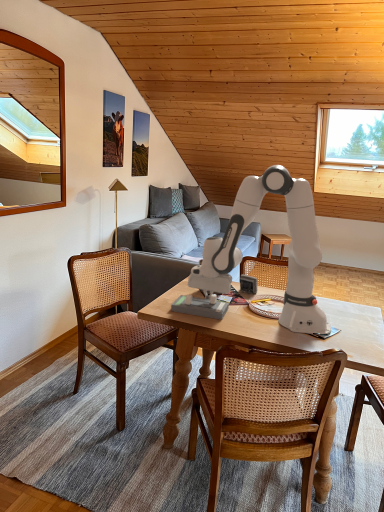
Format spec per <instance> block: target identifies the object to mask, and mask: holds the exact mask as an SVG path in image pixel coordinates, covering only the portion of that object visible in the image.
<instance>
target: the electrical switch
mask: <svg viewBox="0 0 384 512" xmlns="http://www.w3.org/2000/svg"><path fill="white" fill-rule="evenodd" d="M239 291H241V292H243V293H248V294H251V295H254V294H255V293H257V292H258V278H257V277H255V276H251V275H247V274H244V273H243V274H241V275H240V278H239Z"/></svg>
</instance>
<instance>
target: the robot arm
mask: <svg viewBox="0 0 384 512" xmlns="http://www.w3.org/2000/svg"><path fill="white" fill-rule="evenodd" d="M268 193H270V194H273V195H280V196H284V199H285V206H286V215H287V216H286V217H287V225H288V229H289V235H290V239H291V240H290V241H289V246H288V248H289V250H288V264H287V265H288V266H287V267H288V268H287V270H288V272H287V274H288V275H287V282H286V289H285V291H284V294H283V306H282V310H281V313H280V315H279V319H277V320H278V323H279V324H280V325H281V326H283V327H284V328H287V329H288V330H289V331H291V332H293V333H302V334H311V335H314V334H313V333H320V334H328V333H330V334H331V332H332V326H331V324H330V322H328V320H327V316H326V313H325V311H324V310H323V309H322V308H320V307H319V306H318V305H317V304H318V300H317V297H316V295H313V290H314V283H315V268H316V267H318V266H319V264H320V263H321V262H322V258H323V252H322V249H321V248H322V247H321V242H320V236H319V231H318V228H317V222H316V221H317V219H316V211H315V202H314V195H313V191H312V187H311V184H310V182H309V181H308V180H307V179H305V178H294V177H292V176H291V173H290V172H289V170H288V169H287V168H286V167H285V166H283V165H281V164H274V165H273V164H272V165H271V166H269V167H268V168H267V169H265V171H264V172H263V173H262V174H261V175H260V176H256V175H248V176H246V177H244V178H243V180H242V182H241V184H240V185H239V188H238V191H237V192H236V196H235V199H234V202H233V206H232V210H231V214H230V217H229V221H228V224H227V227H226V229H225V231H224V232H225V233H224V235H223V237H221V236H214V235H213V236H209V237H207V238H206V239H205V240H204V242H203V247H202V259H203V261H202V265H195V266H193V267H192V268H191V270H190V274H189V276H188V279H187V286H188V288H193V289H199V290H200V289H202V290H203V292H202V293H203V295H204V299H208V300H210V296H211V295H212V294H213V292H219V293H222V294H226V295H227V294H229V293H230V292H231V289H232V282H233V277H232V276H233V275H231V274H230V273H232V271H233V270H234V269H235V268H236V267H238V266H239V265H240V264H241V263H242V261H243V257H244V256H243V252H242V250H241V249H240V248H239V247H238V243H239V240H240V238H241V235H242V234H243V232H244V231H245V229H246V228H247V227H248V226H249V225H250V224H252V223H253V222H254V221H255V219H256V217H257V215H258V214H259V211H260V208H261V205H262V201H263V199H264V197H265V196H266V194H268ZM207 290H208V291H210V293H211V294H210V295H208V294H207ZM320 334H319V335H320ZM328 335H329V334H328Z"/></svg>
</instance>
